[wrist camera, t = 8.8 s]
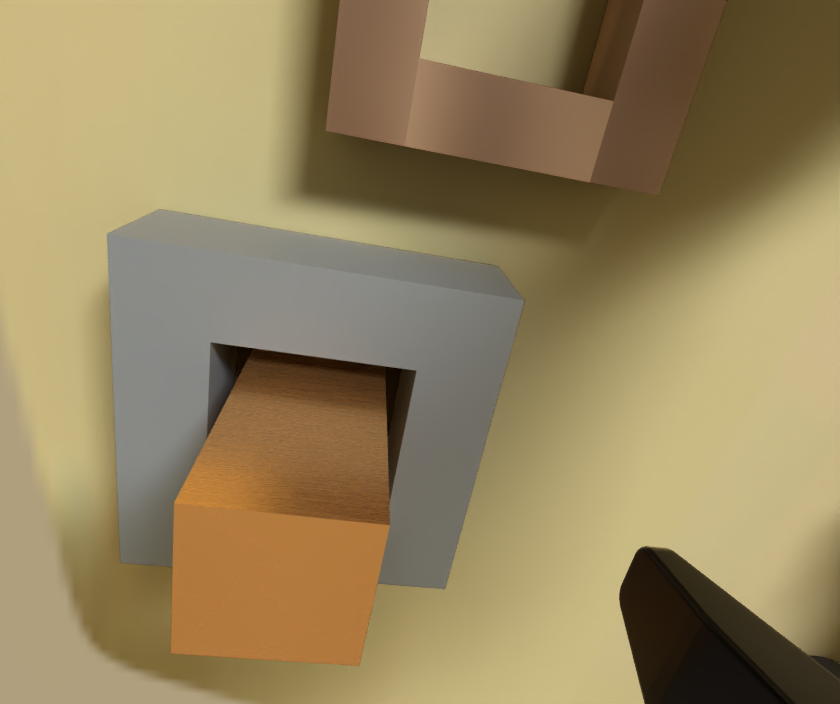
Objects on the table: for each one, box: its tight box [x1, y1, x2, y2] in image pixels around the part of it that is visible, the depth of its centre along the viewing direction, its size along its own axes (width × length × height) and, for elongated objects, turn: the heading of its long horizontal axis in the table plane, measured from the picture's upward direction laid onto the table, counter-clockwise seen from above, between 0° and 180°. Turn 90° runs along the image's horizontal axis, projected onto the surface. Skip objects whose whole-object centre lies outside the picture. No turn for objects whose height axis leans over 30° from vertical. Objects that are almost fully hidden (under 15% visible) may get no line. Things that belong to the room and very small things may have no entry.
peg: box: [171, 348, 390, 666], centre depth 15 cm, size 4×4×9 cm
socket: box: [107, 209, 525, 589], centre depth 18 cm, size 11×11×4 cm
